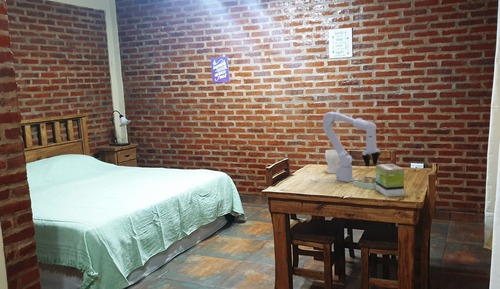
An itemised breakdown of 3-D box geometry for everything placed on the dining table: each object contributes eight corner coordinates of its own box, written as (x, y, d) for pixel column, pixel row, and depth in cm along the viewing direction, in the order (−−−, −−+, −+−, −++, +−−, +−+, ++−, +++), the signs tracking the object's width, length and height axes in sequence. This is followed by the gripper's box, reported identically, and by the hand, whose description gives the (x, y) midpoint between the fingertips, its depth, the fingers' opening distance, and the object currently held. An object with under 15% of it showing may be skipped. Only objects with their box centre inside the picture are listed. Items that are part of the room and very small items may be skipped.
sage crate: (353, 186, 251) (353, 181, 250) (364, 182, 258) (364, 178, 257) (372, 189, 241) (372, 184, 240) (384, 186, 248) (384, 181, 247)
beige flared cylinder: (343, 171, 293) (343, 149, 291) (337, 174, 285) (337, 152, 283) (328, 170, 299) (328, 149, 297) (322, 173, 290) (322, 151, 288)
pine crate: (361, 185, 250) (361, 177, 250) (366, 183, 253) (366, 176, 253) (371, 187, 245) (371, 179, 244) (376, 185, 248) (376, 177, 247)
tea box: (375, 190, 239) (375, 164, 238) (392, 189, 240) (392, 163, 238) (386, 197, 225) (386, 169, 223) (404, 195, 225) (404, 168, 224)
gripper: (369, 145, 250) (369, 168, 252) (383, 142, 259) (383, 164, 261) (359, 144, 255) (359, 166, 257) (373, 141, 264) (373, 163, 266)
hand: (371, 165), depth 259 cm, fingers open, 7 cm apart
